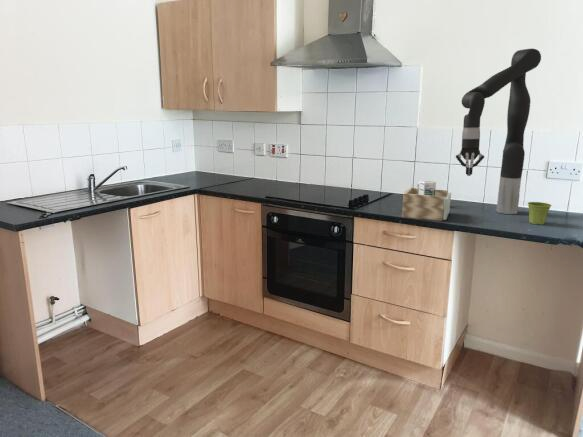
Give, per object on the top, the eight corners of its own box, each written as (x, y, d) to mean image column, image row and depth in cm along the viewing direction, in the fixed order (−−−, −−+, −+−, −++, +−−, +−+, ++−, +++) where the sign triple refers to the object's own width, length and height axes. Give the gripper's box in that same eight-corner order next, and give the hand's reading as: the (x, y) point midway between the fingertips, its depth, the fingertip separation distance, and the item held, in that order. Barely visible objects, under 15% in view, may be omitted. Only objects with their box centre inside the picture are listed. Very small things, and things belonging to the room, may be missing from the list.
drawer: (449, 211, 228) (451, 192, 226) (446, 219, 212) (447, 199, 210) (411, 208, 235) (412, 189, 233) (404, 215, 219) (406, 196, 217)
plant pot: (553, 224, 210) (556, 205, 208) (540, 226, 205) (543, 207, 203) (533, 219, 217) (536, 201, 215) (520, 222, 213) (523, 203, 211)
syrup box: (422, 213, 221) (424, 182, 217) (417, 210, 226) (419, 180, 223) (433, 213, 222) (436, 182, 218) (428, 210, 227) (430, 180, 224)
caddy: (446, 213, 229) (448, 190, 227) (442, 221, 213) (444, 197, 210) (408, 209, 236) (409, 187, 233) (401, 217, 220) (403, 193, 217)
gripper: (486, 137, 218) (484, 174, 221) (455, 137, 222) (454, 174, 226) (486, 138, 211) (484, 177, 215) (455, 138, 215) (453, 176, 219)
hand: (468, 175), depth 220 cm, fingers closed
